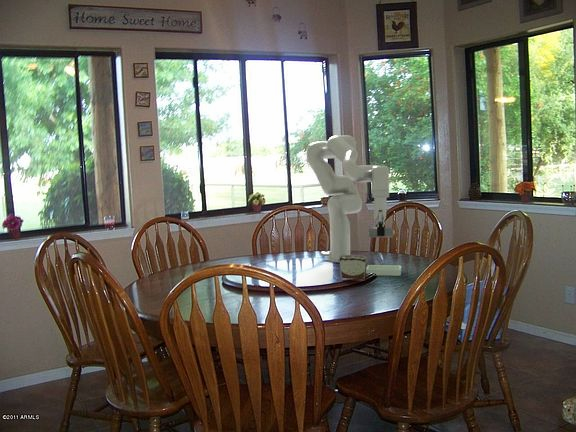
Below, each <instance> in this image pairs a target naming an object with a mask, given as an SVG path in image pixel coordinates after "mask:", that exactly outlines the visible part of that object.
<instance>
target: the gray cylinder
mask: <svg viewBox="0 0 576 432" xmlns="http://www.w3.org/2000/svg"><path fill="white" fill-rule="evenodd" d="M377 227H378V226H376V227H375V226H373V227H371V226H370V227H369V228H368V229H369V230H368V231H369V232H368V233H369V236H368V237H369V238H393V236H394V235H395V230H394V229H393V227H392V226H390V227H389V226H387V227H386V226H385V236H377Z"/></svg>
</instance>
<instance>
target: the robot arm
mask: <svg viewBox="0 0 576 432" xmlns="http://www.w3.org/2000/svg"><path fill="white" fill-rule="evenodd" d="M358 156H359V153H358V150H357V141H356V139H355V138H354V137H353V136H352V135H347V134H346V135H333V136H331V137H329V139H328V140H327V141H326V140H323V141H322V140H321V141H315V142H311V143H310V144H309V145H308V147H307V149H306V158H307V163H308V164H309V166H310V168H311V169H312V171H313V172H314V175H315V176H316V178H317V181H318V183H319V184H320V186H321V189H322V191H323V193H324V194H325V195H326V196H330V197H329V199H328V200H327V210H328V217H329V235H330V236H329V238H330V239H329V242H330V245H329V246H330V247H329V248H330V250H329V251H321V252H320V253H321V255H320V256H321V257H327V261H328V262H330V263H340V261H338V259H339V257H340V256H343V255H351V225H350V219H349V218H348V217H347V215H349V214H356V213H359V212H360V211H361V210H362V208H363V200H362V197H361V195H360V192H359V191H358V189H357V187H356V185H355V183H356V184H357V183H358V184H360V183H371V198H373V199H374V200H373V210H374V211H373V217H374V218H373V220H374V221H376V220H377V226H376V227H377V236H385V227H386V226H385V220H386V219H387V198H390V173H389V171H390V169H389V167H388V166H387V165H376V164H364V165H358V164H356V163H355V162H356V161H357V160H358ZM326 159H338V160H339V161H340V162H341V163H342V165H341V166H342V171H343V172H344V174H345V175H344V174H343V175H342V174H341V175H337V174H336V173H335V171H334V170H333V167H332V166H331V164H329V163H328V162H327V161H326ZM354 182H355V183H354Z"/></svg>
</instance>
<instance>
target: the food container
mask: <svg viewBox="0 0 576 432" xmlns="http://www.w3.org/2000/svg"><path fill="white" fill-rule="evenodd" d="M338 261H340V262H339V268H340V276H341V279H342V278H361V279H365V278H366V268H367V263H369V262H368V261H369V260H368V258H367V256H366V255H363V254H362V255H361V254H350V255H343V256H340V257H339V259H338Z"/></svg>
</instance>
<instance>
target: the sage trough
mask: <svg viewBox="0 0 576 432" xmlns="http://www.w3.org/2000/svg"><path fill="white" fill-rule="evenodd" d="M366 273H375V274H376V275H375V276H395V277H396V276H398V277H399V276H402V264H401V265H399V264H398V265H397V264H396V265H395V264H394V265H390V264H388V265H387V264H383V265H381V264H366V269H365V274H366Z"/></svg>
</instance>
